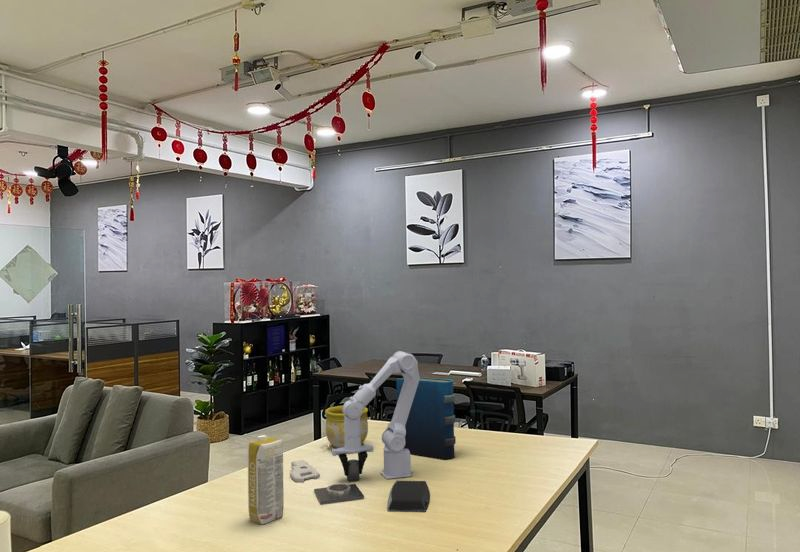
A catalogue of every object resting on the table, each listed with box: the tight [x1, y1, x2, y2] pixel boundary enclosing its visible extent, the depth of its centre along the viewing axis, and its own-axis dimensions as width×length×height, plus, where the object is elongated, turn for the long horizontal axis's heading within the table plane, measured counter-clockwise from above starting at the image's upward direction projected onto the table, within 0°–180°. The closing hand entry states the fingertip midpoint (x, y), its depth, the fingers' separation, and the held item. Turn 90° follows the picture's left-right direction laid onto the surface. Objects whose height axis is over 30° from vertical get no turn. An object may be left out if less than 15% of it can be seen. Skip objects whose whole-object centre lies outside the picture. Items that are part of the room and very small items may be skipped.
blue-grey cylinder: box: [346, 459, 361, 483], centre depth 202 cm, size 4×4×7 cm
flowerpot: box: [324, 405, 369, 450], centre depth 242 cm, size 18×18×16 cm
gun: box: [289, 459, 321, 483], centre depth 210 cm, size 18×4×10 cm
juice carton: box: [247, 434, 285, 525], centre depth 170 cm, size 9×8×24 cm
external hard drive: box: [386, 480, 431, 513], centre depth 182 cm, size 13×19×4 cm
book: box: [395, 376, 457, 461], centre depth 233 cm, size 24×9×30 cm, turn 58°
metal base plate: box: [313, 483, 365, 505], centre depth 187 cm, size 14×12×2 cm
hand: (353, 474), depth 202 cm, fingers closed on blue-grey cylinder, 4 cm apart
